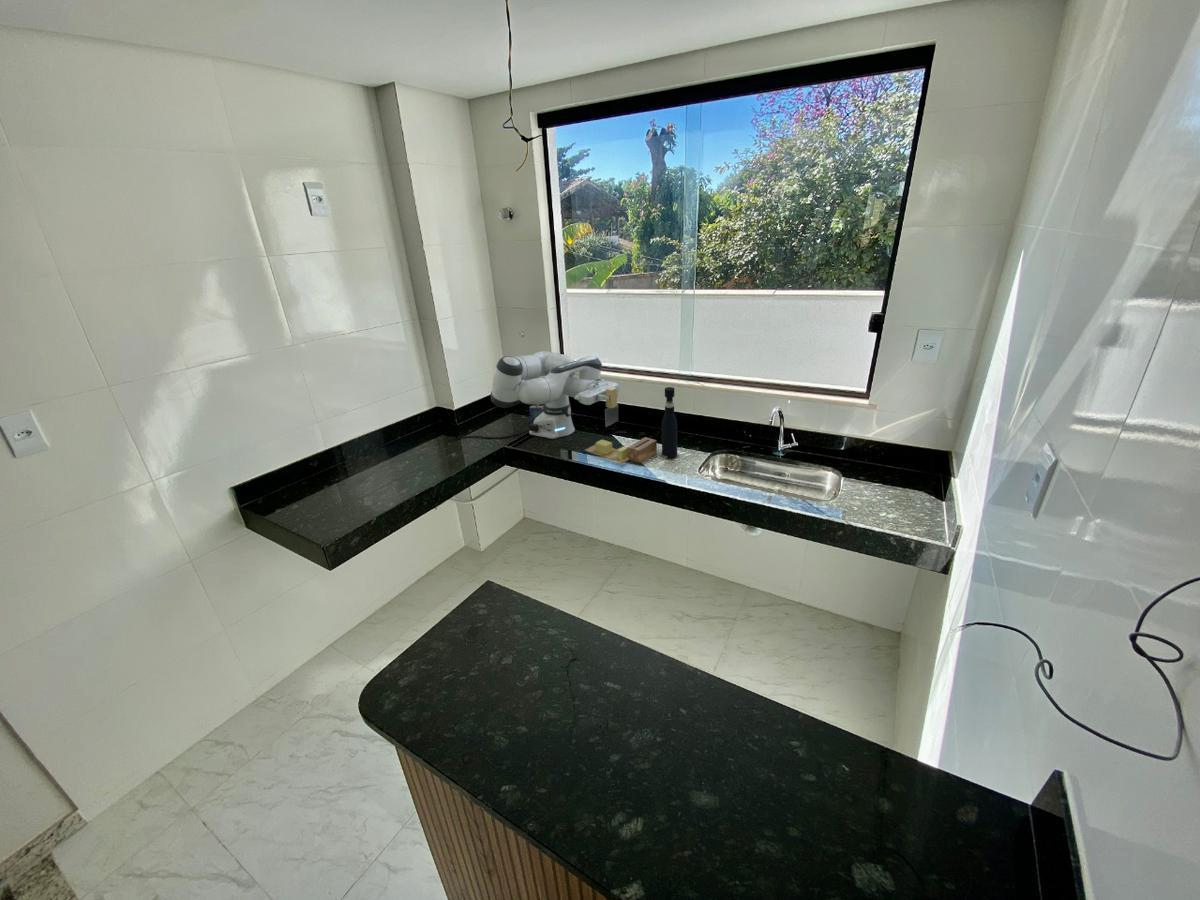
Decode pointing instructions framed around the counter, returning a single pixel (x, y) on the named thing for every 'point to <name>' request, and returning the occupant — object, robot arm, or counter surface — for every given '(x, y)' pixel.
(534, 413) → the flask
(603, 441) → the butter
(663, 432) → the dark water bottle
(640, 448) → the knife block
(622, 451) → the butter pat
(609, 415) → the knife
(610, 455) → the board
